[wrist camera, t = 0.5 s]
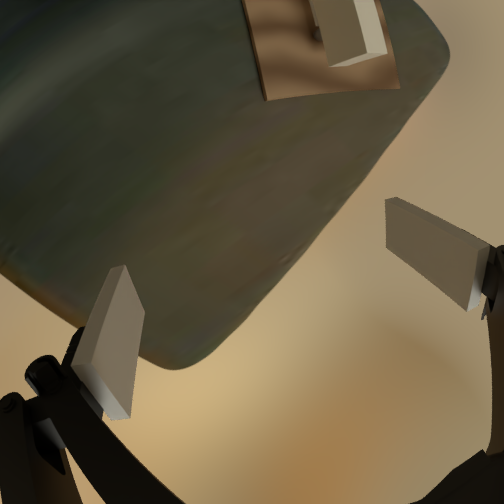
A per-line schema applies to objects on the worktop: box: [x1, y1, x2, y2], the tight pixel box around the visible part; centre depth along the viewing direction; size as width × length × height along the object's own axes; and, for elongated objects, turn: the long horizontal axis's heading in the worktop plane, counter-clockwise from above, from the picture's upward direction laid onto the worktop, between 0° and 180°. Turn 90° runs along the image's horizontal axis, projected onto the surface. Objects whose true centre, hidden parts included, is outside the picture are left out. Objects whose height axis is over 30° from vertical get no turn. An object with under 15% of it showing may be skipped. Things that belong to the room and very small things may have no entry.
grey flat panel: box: [309, 0, 388, 67], centre depth 26 cm, size 15×2×12 cm, turn 11°
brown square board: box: [242, 0, 400, 101], centre depth 33 cm, size 18×20×2 cm
